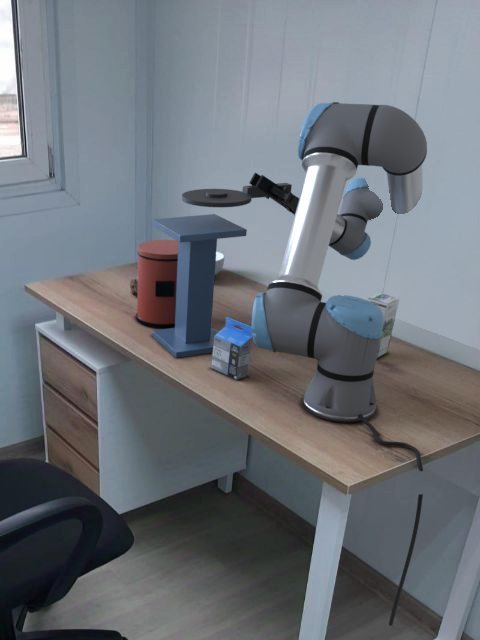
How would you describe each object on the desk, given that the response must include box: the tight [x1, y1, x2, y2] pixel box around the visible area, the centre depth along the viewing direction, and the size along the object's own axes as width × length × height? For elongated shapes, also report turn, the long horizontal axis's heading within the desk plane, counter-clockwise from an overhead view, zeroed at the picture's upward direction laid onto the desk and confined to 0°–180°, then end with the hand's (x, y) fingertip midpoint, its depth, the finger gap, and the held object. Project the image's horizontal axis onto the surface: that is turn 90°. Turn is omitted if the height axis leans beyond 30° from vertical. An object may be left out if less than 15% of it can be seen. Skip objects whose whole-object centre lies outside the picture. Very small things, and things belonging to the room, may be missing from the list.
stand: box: [151, 213, 248, 359], centre depth 185 cm, size 17×17×30 cm
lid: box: [181, 182, 293, 208], centre depth 176 cm, size 28×16×2 cm, turn 110°
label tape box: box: [210, 316, 253, 380], centre depth 173 cm, size 9×4×12 cm, turn 37°
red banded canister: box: [135, 239, 178, 330], centre depth 202 cm, size 16×16×20 cm
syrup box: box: [366, 293, 400, 360], centre depth 183 cm, size 6×6×14 cm
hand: (256, 179), depth 176 cm, fingers closed on lid, 3 cm apart
